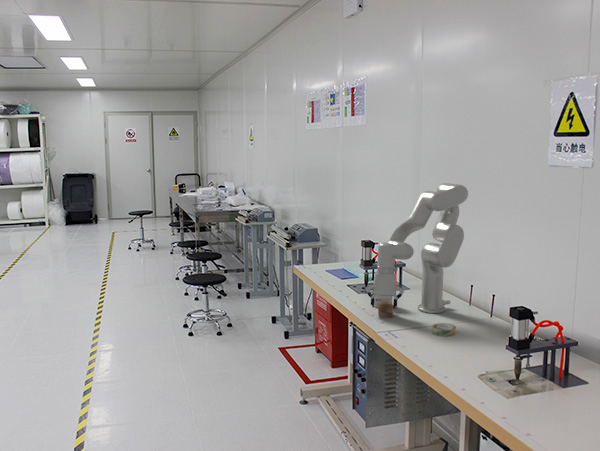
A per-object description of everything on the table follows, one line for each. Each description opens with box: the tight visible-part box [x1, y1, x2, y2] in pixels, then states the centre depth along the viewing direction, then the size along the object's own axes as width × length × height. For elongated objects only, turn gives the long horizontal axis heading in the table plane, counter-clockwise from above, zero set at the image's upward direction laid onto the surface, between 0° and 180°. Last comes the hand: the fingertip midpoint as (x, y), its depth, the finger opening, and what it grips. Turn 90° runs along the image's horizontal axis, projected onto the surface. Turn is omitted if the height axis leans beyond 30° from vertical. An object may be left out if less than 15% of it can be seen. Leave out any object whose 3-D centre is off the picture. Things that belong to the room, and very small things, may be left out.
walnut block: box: [377, 300, 394, 319], centre depth 244 cm, size 6×6×6 cm
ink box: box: [374, 295, 393, 308], centre depth 258 cm, size 9×5×12 cm, turn 84°
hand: (383, 307), depth 243 cm, fingers open, 9 cm apart
